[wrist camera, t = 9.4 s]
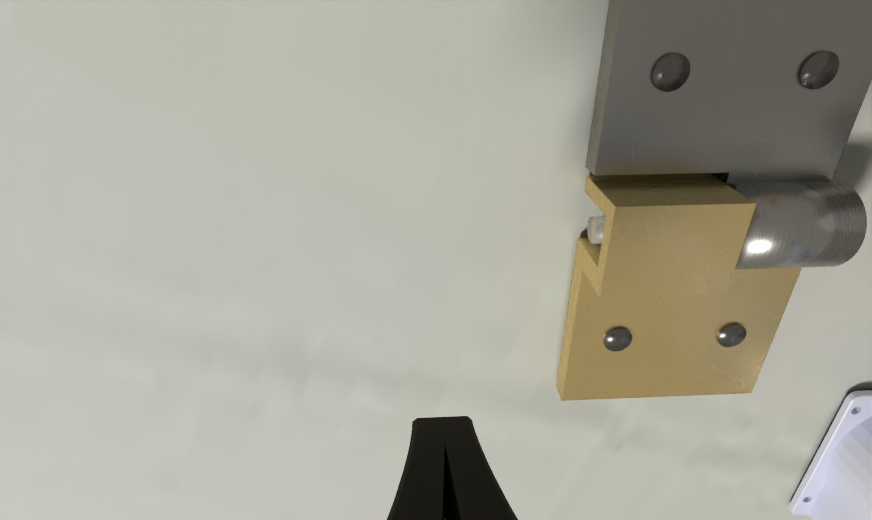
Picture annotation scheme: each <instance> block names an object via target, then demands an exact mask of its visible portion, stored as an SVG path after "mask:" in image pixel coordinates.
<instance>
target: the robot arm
mask: <svg viewBox="0 0 872 520" xmlns="http://www.w3.org/2000/svg"><path fill="white" fill-rule="evenodd" d="M789 509H790V511H791V512H792V513H793V514H794V515H809V517H810V518H811V519H812V520H872V390H867V391H854V392H852V393H850V394H849V395H848V396H847V397H846V398H845V400H844V402H843V404H842V406H841V408H840V410H839V412H838V413H837V415H836V417H835V419H834V421H833V423H832V425H831V427H830V429H829V430H828V432H827V434H826V436H825V438H824V440H823V442H822V444H821V446H820V447H819V449H818V451H817V453H816V455H815V457H814V459H813V461H812V463H811V465H810V466H809V468H808V470H807V472H806V474H805V476H804V478H803V480H802V482H801V483H800V485H799V487H798V489H797V491H796V493H795V495H794V497H793V499H792V500H791V502H790V504H789ZM387 520H518V519H517V517H516V516H515V514H514V512H513V510H512V509H511V507H510V505H509V503H508V501H507V500H506V498H505V496H504V494H503V492H502V490H501V488H500V486H499V484H498V482H497V480H496V479H495V477H494V475H493V473H492V470H491V468H490V466H489V464H488V462H487V460H486V457H485V455H484V453H483V451H482V448H481V446H480V443H479V441H478V438H477V436H476V433H475V430H474V427H473V423H472V420H471V419H470V418H469V417H468V416H459V417H435V418H417V419H416V420H414V421H413V424H412V435H411V441H410V446H409V451H408V455H407V459H406V463H405V467H404V471H403V474H402V477H401V480H400V484H399V487H398V490H397V493H396V497H395V500H394V502H393V505H392V508H391V510H390V513H389V516H388V518H387Z"/></svg>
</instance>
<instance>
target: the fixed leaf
mask: <svg viewBox="0 0 872 520" xmlns="http://www.w3.org/2000/svg"><path fill="white" fill-rule="evenodd" d="M871 80H872V0H610V2H609V9H608V16H607V23H606V29H605V36H604V43H603V50H602V57H601V64H600V71H599V78H598V85H597V92H596V99H595V106H594V113H593V120H592V127H591V134H590V141H589V148H588V154H587V161H586V168H587V169H588V170H589V171H590V172H591V173H592V174H593V175H594V176H596V175H641V174H686V173H712V176H713V177H715V178H717V179H718V180H720V181H721V182H723V183H725V184H726V185H728V186H729V187H731V188H733V189H734V190H736V191H737V192H739V193H741V194H742V195H744V196H745V197H747V198H749V199H750V200H752V201H753V202H755V203H756V206H755V209H754V212H753V216H752V219H751V222H750V225H749V228H748V231H747V234H746V237H745V240H744V243H743V246H742V249H741V252H740V255H739V258H738V261H737V264H736V267H735V269H764V268H798V267H830V266H837V265H841V264H843V263H845V262H847V261H848V260H849V259H851V258H852V257H853V256H854V255H855V254H856V253H857V251H858V250H859V248H860V246H861V245H862V243H863V240H864V237H865V233H866V227H867V217H866V211H865V207H864V204H863V202H862V200H861V198H860V197H859V195H858V194H857V192H856V191H855V190H854V189H853V188H851V187H850V186H848V185H847V184H845V183H842V182H838V181H831V180H832V178H833V175H834V173H835V170H836V168H837V165H838V163H839V160H840V158H841V155H842V153H843V150H844V148H845V145H846V143H847V140H848V138H849V135H850V133H851V130H852V127H853V125H854V122H855V120H856V117H857V115H858V112H859V110H860V107H861V105H862V102H863V100H864V97H865V95H866V92H867V90H868V87H869V85H870V82H871ZM605 222H606V216H599V217H590V219H589V221H588V227H587V233H588V239H589V241H590V243H591V244H602V239H603V233H604V227H605Z"/></svg>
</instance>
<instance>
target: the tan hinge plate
mask: <svg viewBox="0 0 872 520" xmlns="http://www.w3.org/2000/svg"><path fill="white" fill-rule="evenodd" d="M585 192H586V193H587V194H588V195H589V197H590V198H591V199H592V200H593V201H594V202H595V204H596V205H597V206H598V207H599V208H600V209H601V211H602V212H603V213H604V214H605V215H606V222H605V227H604V233H603V239H602V244H591V243H590V241H589V239H588V238H578V240H577V247H576V254H575V260H574V267H573V274H572V281H571V288H570V295H569V301H568V308H567V315H566V322H565V329H564V336H563V342H562V349H561V356H560V363H559V370H558V376H557V383H556V386H557V389H558V392H559V394H560V397H561V400H562V401H563V400H589V399H614V398H639V397H664V396H689V395H714V394H739V393H752V390H753V388H754V385H755V383H756V380H757V378H758V375H759V373H760V370H761V368H762V365H763V363H764V360H765V358H766V355H767V353H768V350H769V348H770V345H771V343H772V340H773V338H774V335H775V333H776V331H777V328H778V326H779V323H780V321H781V318H782V316H783V313H784V311H785V308H786V306H787V303H788V301H789V298H790V296H791V293H792V291H793V288H794V286H795V283H796V281H797V278H798V276H799V273H800V271H801V268H802V267H798V268H764V269H735V267H736V264H737V261H738V258H739V255H740V252H741V249H742V246H743V243H744V240H745V237H746V234H747V231H748V228H749V225H750V222H751V219H752V216H753V212H754V209H755V206H756V203H755V202H753V201H752V200H750V199H749V198H747V197H745V196H744V195H742V194H741V193H739V192H737V191H736V190H734V189H733V188H731V187H729V186H728V185H726V184H725V183H723V182H721V181H720V180H718V179H717V178H715V177H713V176H712V175H710V174H709V173H702V174H658V175H613V176H587V179H586V185H585Z"/></svg>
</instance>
